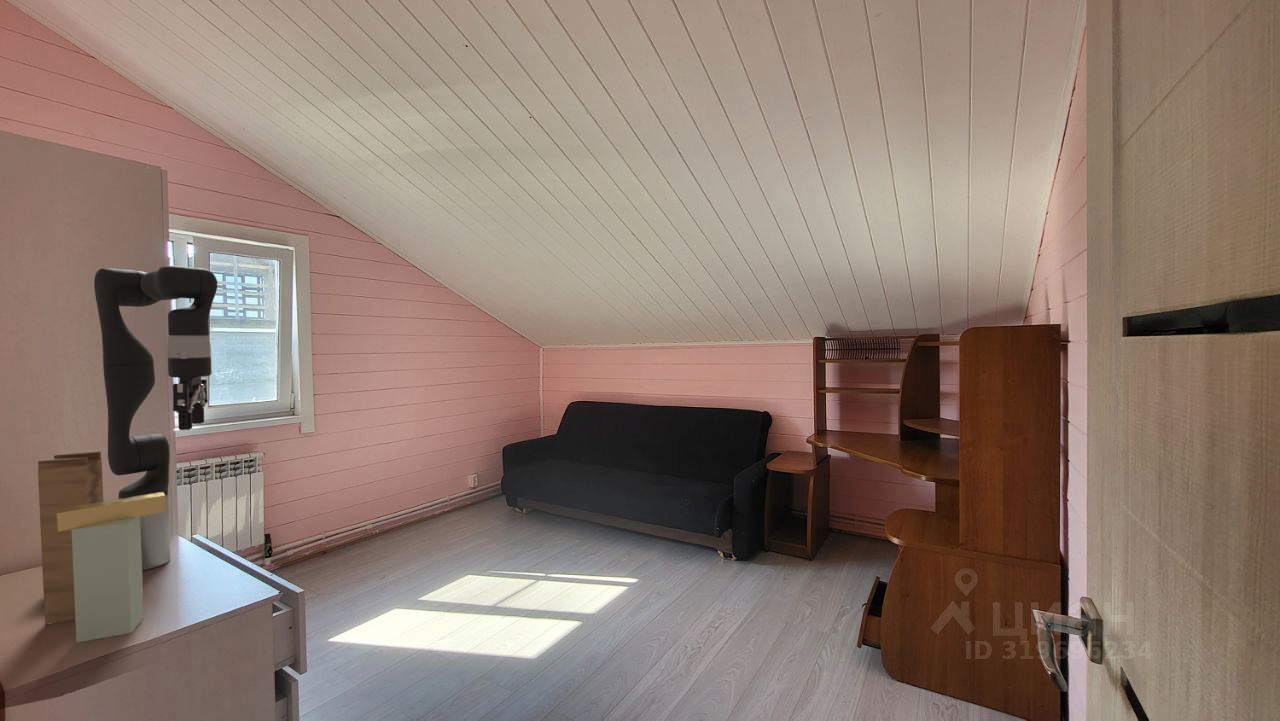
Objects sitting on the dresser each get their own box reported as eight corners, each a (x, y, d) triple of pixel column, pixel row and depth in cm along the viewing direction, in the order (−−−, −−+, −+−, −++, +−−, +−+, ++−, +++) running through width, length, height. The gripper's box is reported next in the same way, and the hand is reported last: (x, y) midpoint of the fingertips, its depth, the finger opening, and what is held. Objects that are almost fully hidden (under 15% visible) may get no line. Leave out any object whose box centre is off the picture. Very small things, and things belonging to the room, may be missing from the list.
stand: (64, 608, 114) (57, 454, 113) (107, 601, 117) (101, 451, 116) (45, 624, 108) (37, 461, 106) (91, 617, 111) (84, 458, 109)
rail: (57, 527, 102) (56, 509, 102) (163, 508, 114) (162, 491, 114) (57, 531, 100) (57, 513, 100) (166, 511, 111) (165, 495, 111)
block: (92, 627, 107) (87, 519, 106) (143, 618, 111) (139, 514, 110) (76, 642, 102) (71, 529, 101) (131, 633, 105) (127, 523, 104)
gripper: (179, 354, 125) (182, 422, 126) (156, 357, 113) (158, 433, 113) (219, 354, 129) (221, 420, 129) (200, 356, 116) (202, 430, 117)
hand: (192, 426), depth 121 cm, fingers open, 8 cm apart
